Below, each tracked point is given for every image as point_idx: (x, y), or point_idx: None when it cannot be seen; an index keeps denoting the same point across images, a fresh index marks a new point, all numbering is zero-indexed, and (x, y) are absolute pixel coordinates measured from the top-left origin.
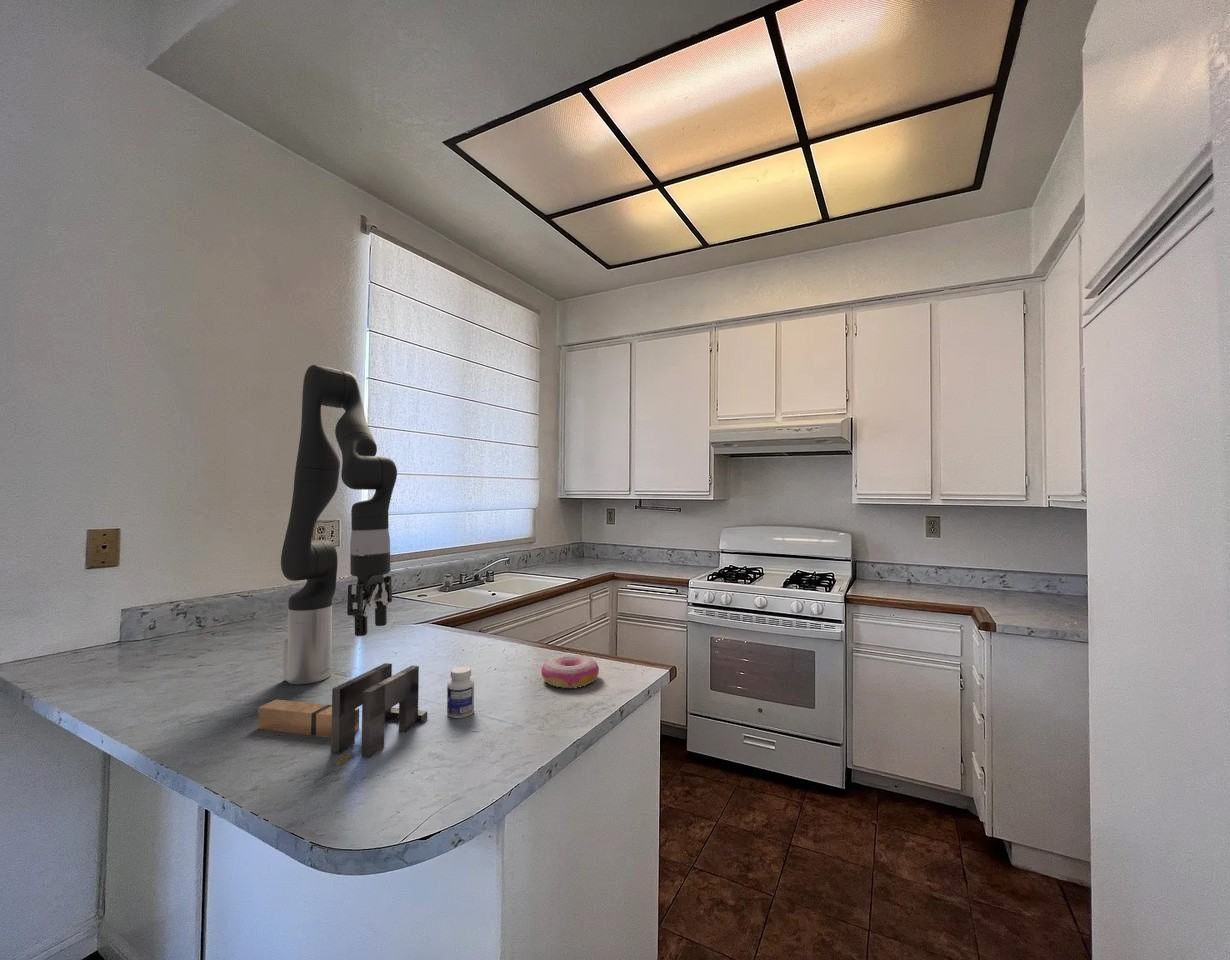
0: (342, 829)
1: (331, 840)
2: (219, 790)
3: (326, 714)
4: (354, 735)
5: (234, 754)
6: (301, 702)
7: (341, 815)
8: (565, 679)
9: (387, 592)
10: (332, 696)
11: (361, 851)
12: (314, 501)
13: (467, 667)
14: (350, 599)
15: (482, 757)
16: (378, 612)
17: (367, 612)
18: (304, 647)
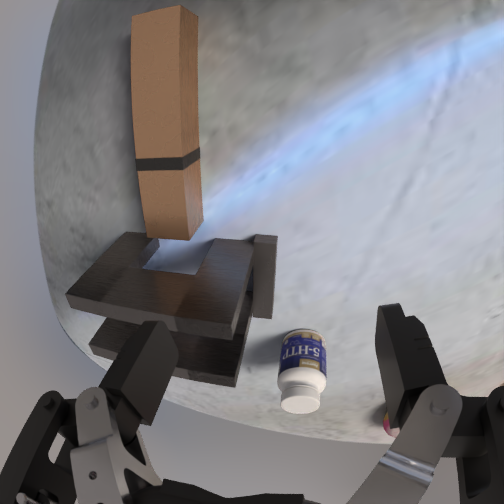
0: (68, 317)
1: (59, 315)
2: (34, 169)
3: (142, 194)
4: (153, 253)
5: (78, 90)
6: (176, 79)
7: (73, 309)
8: (384, 423)
9: (465, 497)
10: (73, 285)
11: (67, 335)
12: None
13: (313, 409)
14: (21, 461)
15: (194, 382)
16: (395, 381)
17: (143, 443)
18: None
